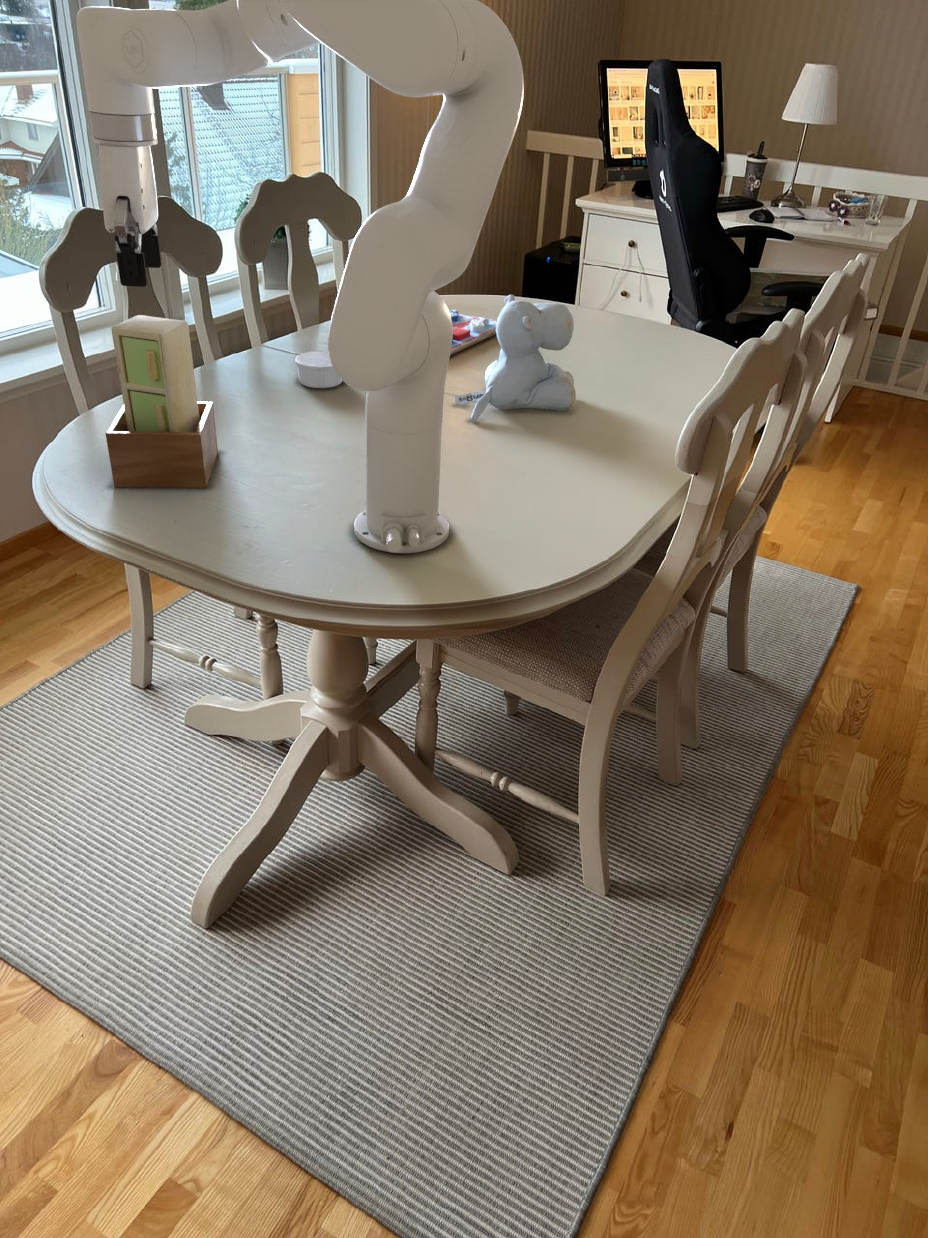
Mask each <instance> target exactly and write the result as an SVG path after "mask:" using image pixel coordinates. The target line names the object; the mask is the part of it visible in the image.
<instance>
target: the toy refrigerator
mask: <svg viewBox="0 0 928 1238" xmlns="http://www.w3.org/2000/svg"><path fill="white" fill-rule="evenodd" d="M111 336H112V343H113V349H114V354H115V360H116V366H117V372H118V377H119V383H120V391H121V395H122V402H123V404H124V408H125V415H126V421H127V427H128V431H135V432H193V433H196V431H197V428H198V426H199V423H200V417H199V409H198V402H199V401H198V394H197V393H198V392H197V385H196V377H195V368H194V360H193V353H192V351H193V350H192V345H191V344H192V343H191V335H190V328H189V323H188V322H187V321H185V320H180V319H174V318H166V317H159V316H158V317H157V316H151V315H143V314H137V315H135V316H133V317H130V318H128V319H126V320H124V321H122V322H120V323H119V322H118V323H117V324H115V325H113V326H112V327H111Z"/></svg>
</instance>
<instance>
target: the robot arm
mask: <svg viewBox="0 0 928 1238" xmlns="http://www.w3.org/2000/svg"><path fill="white" fill-rule="evenodd" d="M75 21H76V22H75V23H76V30H77V38H78V45H79V52H80V59H81V65H82V73H83V81H84V88H85V94H86V101H87V108H88V118H89V126H90V131H91V140H92V142H93V143H94V144H97V145H98V167H99V169H98V170H99V181H100V182H99V183H100V193H101V203H102V212H103V221H104V222H103V223H104V228H105V230H106V231H107V232H108V233H112V234H113V233H114V232H115V235H114V241H115V251H116V252H115V253H116V254H115V255H116V260H117V268H118V276H119V283H120V285H121V286H123V287H139V288H140V287H142V288H144V287H146V286H148V277H147V276H148V275H147V268H148V269H149V268H150V269H151V268H153V269H160V268H161V267H162V256H161V245H160V238H159V237H160V236H159V235H158V226H157V223H156V222H157V221H158V217H159V208H158V196H157V185H156V178H155V170H154V164H153V163H154V162H153V156H152V150H151V147H152V146H156V145H158V144H159V141H158V131H157V130H158V129H157V121H156V114H155V113H156V112H155V103H154V93H153V92H154V91H153V89H169V88H171V89H172V88H180V87H197V86H198V87H199V86H200V87H201V86H211V85H215V84H220V83H223V82H227V81H230V80H232V79H235V78H239V77H242V76H245V75H248V74H251V73H255V72H256V71H260V70H261V69H264V68H266V67H269V66H270V65H272V64H273V63H277V62H278V61H280V60H281V59H282V58H284V57H287V56H289V55H293V54H296V53H299V52H302V51H305V50H307V49H310V48H313V47H316V46H320V45H322V44H323V45H324V46H325V47H327V48H328V49H330V50H331V51H332V52H333V53H335V54H336V55H338V56H339V57H341V58H342V59H343V60H345V61H346V62H347V63H349V64H350V65H351V66H352V67H354V68H355V69H357V70H359V71H360V72H361V73H363V74H364V75H366V77H368V78H370V79H371V80H372V81H374V82H375V83H377V84H378V85H380V86H381V87H383V88H384V89H386V90H388V91H390V92H392V93H394V94H396V95H398V96H403V97H406V98H416V99H417V98H425V97H436V96H443V101H442V105H441V108H440V111H439V113H438V115H437V116H436V119H435V121H434V123H433V125H432V126H431V128H430V130H429V131H428V134H427V136H426V138H425V141H424V144H423V146H422V149H421V152H420V156H419V160H418V163H417V167H416V170H415V172H414V175H413V178H412V181H411V184H410V187H409V189H408V191H407V193H406V195H405V196H404V197H403V198H402V199H401V200H399V201H396V202H392V203H389V204H387V205H384V206H382V207H380V208H378V209H376V210H375V211H374V212H372V213H371V214H370V215H369V216H367V218H366V219H365V221H363V223H362V225H361V226H360V228H359V229H358V231H357V232H356V235H355V237H354V239H353V242H352V244H351V246H350V249H349V252H348V253H349V254H348V257H347V260H346V263H345V266H344V267H345V268H344V269H343V270H344V271H343V274H342V277H341V281H340V285H339V288H338V291H337V292H338V293H337V296H336V299H335V302H334V305H333V306H334V307H333V310H332V313H331V318H330V321H329V327H328V333H327V350H328V351H327V352H329V356H330V360H331V363H332V365H333V368H334V369H335V371H336V373H337V374H338V376H339V377H340V378H341V379H342V382H344V383H345V384H347V385H348V386H349V387H351V388H353V389H355V390H359V391H363V392H366V395H365V420H364V424H365V425H364V426H365V427H364V429H365V430H364V433H365V434H364V435H365V439H364V440H365V441H364V442H365V443H364V446H365V449H364V450H365V451H364V452H365V454H364V455H365V456H364V457H365V458H364V459H365V463H364V465H365V510H362V511H361V512H360V513H359V514H358V515H357V516H356V517H355V519H354V520H353V521H354V522H353V531H354V535H355V537H356V538H357V539H358V540H359V541H360V542H361V543H362V544H364V545H366V546H367V547H370V548H371V549H374V550H377V551H381V552H386V553H392V554H413V553H414V554H415V553H421V552H425V551H429V550H432V549H435V548H437V547H438V546H440V545H442V544H443V543H444V542H446V540H447V539H448V538H449V535H450V523H449V520H448V519H447V518H446V516H444V515H443V514H442V513H441V512H440V511H439V502H440V501H439V499H440V480H441V479H440V478H441V477H440V476H441V475H440V474H441V455H442V453H441V452H442V432H443V431H442V430H443V418H444V417H443V415H444V397H445V388H446V387H445V386H446V379H447V373H448V367H449V363H450V357H451V356H450V352H451V346H452V336H453V327H452V320H451V315H450V312H449V310H450V309H449V307H448V305H447V303H446V302H445V300H444V299H443V298H442V296H441V295H440V294H438V293H437V291H436V290H439V289H440V288H443V287H445V286H447V285H449V284H450V283H453V282H454V281H455V280H457V279H458V278H460V277H461V276H462V275H463V274H464V272H465V271H466V270H467V268H468V267H469V264H470V262H471V260H472V257H473V254H474V253H475V248H476V246H477V242H478V239H479V236H480V234H481V231H482V228H483V225H484V223H485V220H486V217H487V214H488V211H489V209H490V206H491V204H492V201H493V197H494V194H495V191H496V188H497V185H498V181H499V179H500V176H501V173H502V170H503V168H504V165H505V162H506V160H507V156H508V155H509V152H510V151H509V150H510V148H511V147H512V143H513V140H514V137H515V135H516V132H517V128H518V125H519V121H520V118H521V115H522V110H523V109H522V108H523V102H524V91H525V89H524V88H525V82H524V70H523V69H524V68H523V65H522V64H523V63H522V59H521V56H520V52H519V49H518V46H517V44H516V42H515V39H514V37H513V35H512V33H511V32H510V30H509V28H508V27H507V25H506V24H505V23H504V22H503V20H502V19H501V18H500V17H499V15H498V14H497V13H496V12H495V11H494V10H493V9H492V8H491V7H490V6H487V4H484V3H483V2H481V1H480V0H225V1H224V2H221V3H218V4H215V5H212V6H209V7H205V8H203V9H198V10H190V9H172V8H171V9H169V8H168V9H166V8H164V9H154V8H153V9H152V8H143V9H142V8H140V9H131V8H125V7H124V8H123V7H114V6H96V5H95V6H94V5H93V6H91V5H90V6H89V5H88V6H84V7H81V8H80V9H79V10H78V11H77V14H76V19H75Z"/></svg>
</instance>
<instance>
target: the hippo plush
mask: <svg viewBox="0 0 928 1238" xmlns="http://www.w3.org/2000/svg"><path fill="white" fill-rule="evenodd" d="M504 304H505V306H503V308H502V309H501V311H500V313H499V315H498V317H497V320H496V321H497V323H496V334H495V335H496V338H497V341H498V344H499V346H500V351H499V357H498V359H496V360H494V361H493V362H491V363H490V364H489V365H488V366H487V368H486V369H485V372H484V383H485V391H475V392H469V393H465V394H461V395H460V394H459V395H457V394H454V400H455V406H464V405H470V404H474V403H475V405H474V408H473V410H472V412H471V415H470V417H469V420H470V421H471V422H476V421H477V420H478V419H479V418H480V417H481V415H482V414H483V412H484V411H485V410H486V408H487V407H488V405H489V404H490V406H492V407H494V408H495V409H499V410H502V411H509V410H516V409H535V410H548V411H553V412H564V413H565V412H570V411H571V410H572V409H573V407H574V405H575V404H576V400H577V391H576V388H575V379H574V376H573V374H572V373H571V372H569V371H567V370H564V369H563V368H562V367H560V366H559V365H558V364H555V363H553V362H550V361H549V362H548V361H545V359H544V357H543V354H542V353H541V352H540V350H539V349H540V348H541V349H545V350H550V351H562V350H564V349H565V348H566V347H568V345H570V342H571V340H572V338H573V333H574V329H575V321H574V317H573V314H572V312H571V310H569V308H568V307H567V305H565V304H562V303H558V302H537V303H532V302H529V301H525V300H516V297H515V295H514V294H509V295H507V296H506V297H505V298H504Z"/></svg>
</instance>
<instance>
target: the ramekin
mask: <svg viewBox="0 0 928 1238" xmlns="http://www.w3.org/2000/svg"><path fill="white" fill-rule="evenodd" d="M294 361H295V364H296V369H297V374H298V381H299V383H300V384H301V385H302V386H305V387H307V388H311V389H329V388H334V387H338V386H339V385H340V384H342V382H343V380H342V379H341V378H340V377H339V376H338V374H337V373H336V371H335V369H334V368H333V365H332V363H331V360H330V356H329V351H321V350H320V351H307V352H304V353H300V354H298V355H296V357H295V358H294Z"/></svg>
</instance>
